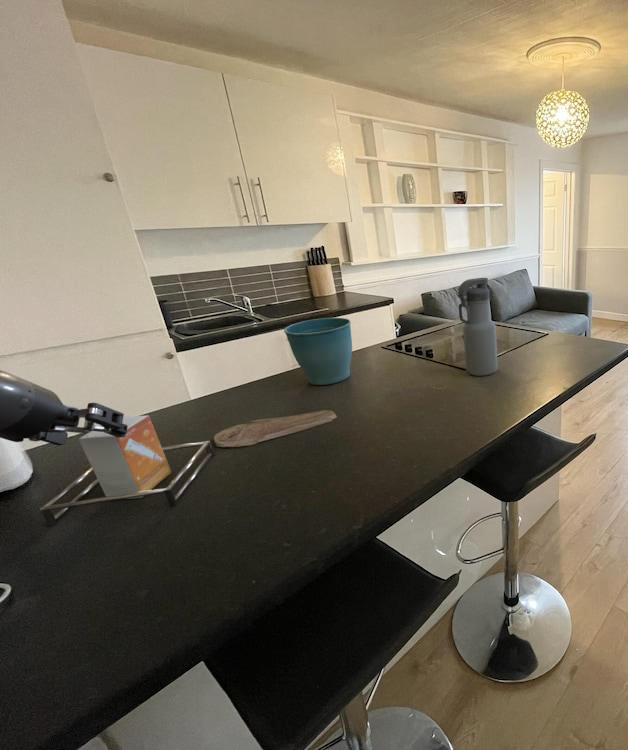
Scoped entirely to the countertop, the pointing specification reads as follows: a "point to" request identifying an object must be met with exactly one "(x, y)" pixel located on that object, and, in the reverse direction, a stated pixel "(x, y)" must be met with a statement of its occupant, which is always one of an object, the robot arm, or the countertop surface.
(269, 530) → the countertop surface
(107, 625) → the countertop surface
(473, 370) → the water bottle
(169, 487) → the metal rack
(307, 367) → the flower pot
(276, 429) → the fish fossil
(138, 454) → the small box
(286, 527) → the countertop surface
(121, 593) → the countertop surface
